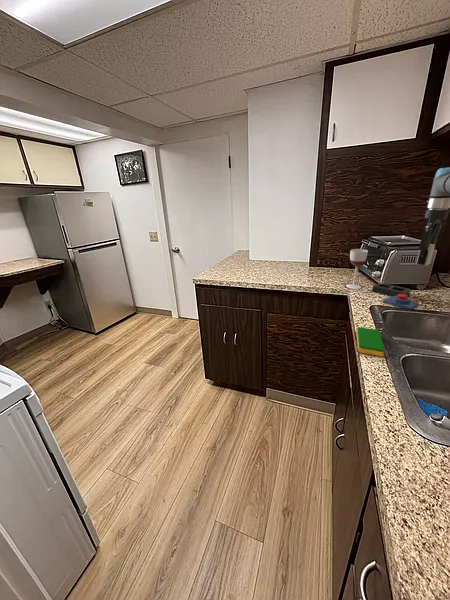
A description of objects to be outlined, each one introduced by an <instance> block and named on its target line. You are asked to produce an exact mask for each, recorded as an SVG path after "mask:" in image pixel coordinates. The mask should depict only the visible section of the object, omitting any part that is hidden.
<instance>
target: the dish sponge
mask: <svg viewBox="0 0 450 600" xmlns="http://www.w3.org/2000/svg"><path fill="white" fill-rule="evenodd" d="M356 339H357V340H356V343H357V352H358V353H361V354H367V355H373V356H378V357H384V354H385V347H384V343H383V338H382V334H381V331H380V329H376V328H370V327H369V328H368V327H361V326H357V327H356Z"/></svg>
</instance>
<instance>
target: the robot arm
mask: <svg viewBox="0 0 450 600" xmlns="http://www.w3.org/2000/svg"><path fill="white" fill-rule="evenodd" d="M426 203H427V207H426V208H427V209H426V210H425V214H424V217H423V218H424V219H426V220H428V222H427V223H426V225H424V226H423V229H422V234H421V239H420V243H419V247H418V251H419V250H420V254H419V253H418V254H419V258H418V257H417V258H418V262H417V264H416V265H418V264H420V265H419V266H424V265H425V261H426V258H427V254H428V251H429V250H428V248H429V245H430V244H435V247H434V249H436V248H437V242H438V238H439V235H440V233H441V230H442V228H443V227H442V226H443V223H442V220H446V219H448V216H449V213H450V167H449V166H448V167H440V168H438V170H436V172H435V175H434V178H433V182H432V186H431V191H430V196H429V199H428V200H427V201H426Z"/></svg>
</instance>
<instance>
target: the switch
mask: <svg viewBox="0 0 450 600" xmlns="http://www.w3.org/2000/svg"><path fill="white" fill-rule="evenodd" d="M407 297H408V296H407V295H405V294H398V296H397V298H398V299H401V300H406V299H407Z"/></svg>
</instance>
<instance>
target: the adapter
mask: <svg viewBox="0 0 450 600" xmlns="http://www.w3.org/2000/svg"><path fill="white" fill-rule="evenodd" d="M381 283H382V282H379V283H376V284H373V285H372V290H371V292H373V293H378V294H382V295H385V296H389V297H391V296H397V295H398V294H405V295H407V297H408V296H409V295H410V293H411V288H407V287H402V286H398V285H394V284H389V283H385V284H381Z"/></svg>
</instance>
